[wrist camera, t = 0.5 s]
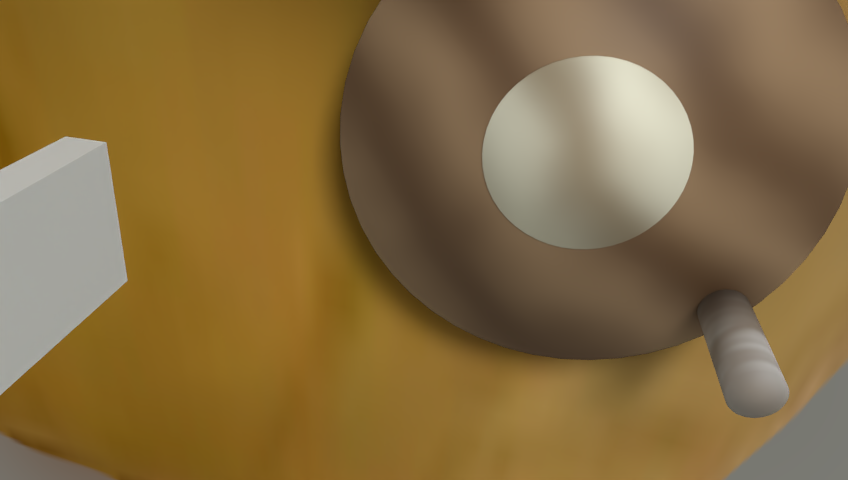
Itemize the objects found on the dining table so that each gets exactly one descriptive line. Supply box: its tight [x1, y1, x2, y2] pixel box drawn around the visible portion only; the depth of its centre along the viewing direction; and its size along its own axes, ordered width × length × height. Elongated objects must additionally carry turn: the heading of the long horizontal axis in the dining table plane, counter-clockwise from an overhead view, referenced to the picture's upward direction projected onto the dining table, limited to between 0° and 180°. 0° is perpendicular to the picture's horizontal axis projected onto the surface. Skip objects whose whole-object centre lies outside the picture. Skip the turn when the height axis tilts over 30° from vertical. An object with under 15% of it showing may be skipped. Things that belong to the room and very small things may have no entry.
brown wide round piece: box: [340, 0, 848, 418], centre depth 30 cm, size 22×22×8 cm
